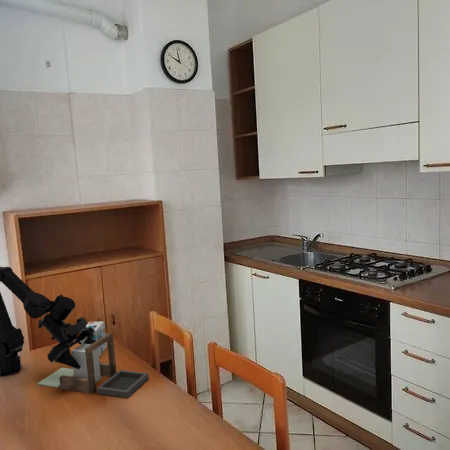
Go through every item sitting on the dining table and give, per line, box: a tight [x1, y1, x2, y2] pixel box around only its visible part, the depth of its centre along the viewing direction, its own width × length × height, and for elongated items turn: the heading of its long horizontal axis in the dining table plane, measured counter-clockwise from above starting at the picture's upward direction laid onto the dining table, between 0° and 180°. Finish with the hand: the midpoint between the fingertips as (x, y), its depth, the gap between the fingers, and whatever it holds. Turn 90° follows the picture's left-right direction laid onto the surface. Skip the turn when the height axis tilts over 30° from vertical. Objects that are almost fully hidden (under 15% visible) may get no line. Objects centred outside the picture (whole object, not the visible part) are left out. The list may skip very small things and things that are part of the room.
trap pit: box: [96, 369, 150, 399], centre depth 147 cm, size 11×13×2 cm
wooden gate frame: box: [59, 332, 118, 394], centre depth 151 cm, size 13×13×15 cm
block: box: [70, 344, 102, 383], centre depth 152 cm, size 6×6×12 cm
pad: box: [37, 367, 74, 388], centre depth 157 cm, size 8×12×1 cm
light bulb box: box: [79, 321, 108, 358], centre depth 176 cm, size 11×7×11 cm, turn 179°
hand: (88, 362), depth 151 cm, fingers open, 9 cm apart
